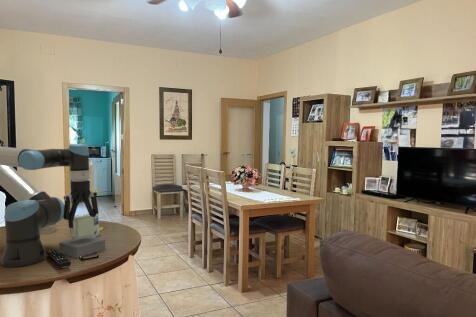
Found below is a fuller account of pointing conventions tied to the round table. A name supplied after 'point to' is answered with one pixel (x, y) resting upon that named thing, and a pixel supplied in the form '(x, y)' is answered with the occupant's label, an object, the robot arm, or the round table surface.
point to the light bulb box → (96, 225)
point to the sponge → (48, 229)
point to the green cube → (84, 225)
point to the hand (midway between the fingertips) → (82, 233)
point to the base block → (81, 246)
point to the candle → (92, 184)
